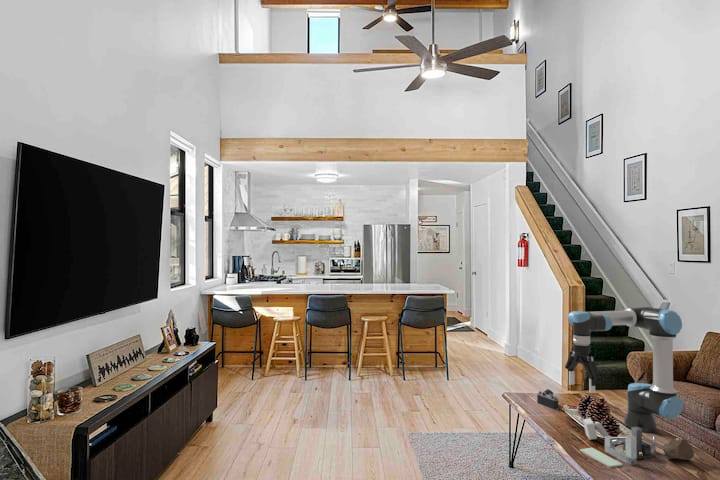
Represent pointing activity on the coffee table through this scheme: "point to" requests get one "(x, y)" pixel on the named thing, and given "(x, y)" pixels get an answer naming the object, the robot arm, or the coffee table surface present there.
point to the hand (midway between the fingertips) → (581, 388)
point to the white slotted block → (627, 456)
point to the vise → (639, 443)
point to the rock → (678, 449)
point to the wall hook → (593, 429)
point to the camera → (547, 399)
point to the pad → (601, 457)
